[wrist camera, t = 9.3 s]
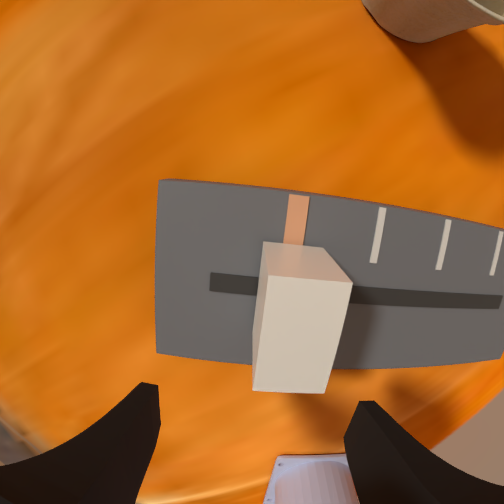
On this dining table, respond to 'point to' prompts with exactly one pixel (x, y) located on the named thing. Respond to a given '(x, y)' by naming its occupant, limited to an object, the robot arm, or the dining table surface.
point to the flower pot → (433, 16)
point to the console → (348, 259)
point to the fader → (297, 318)
